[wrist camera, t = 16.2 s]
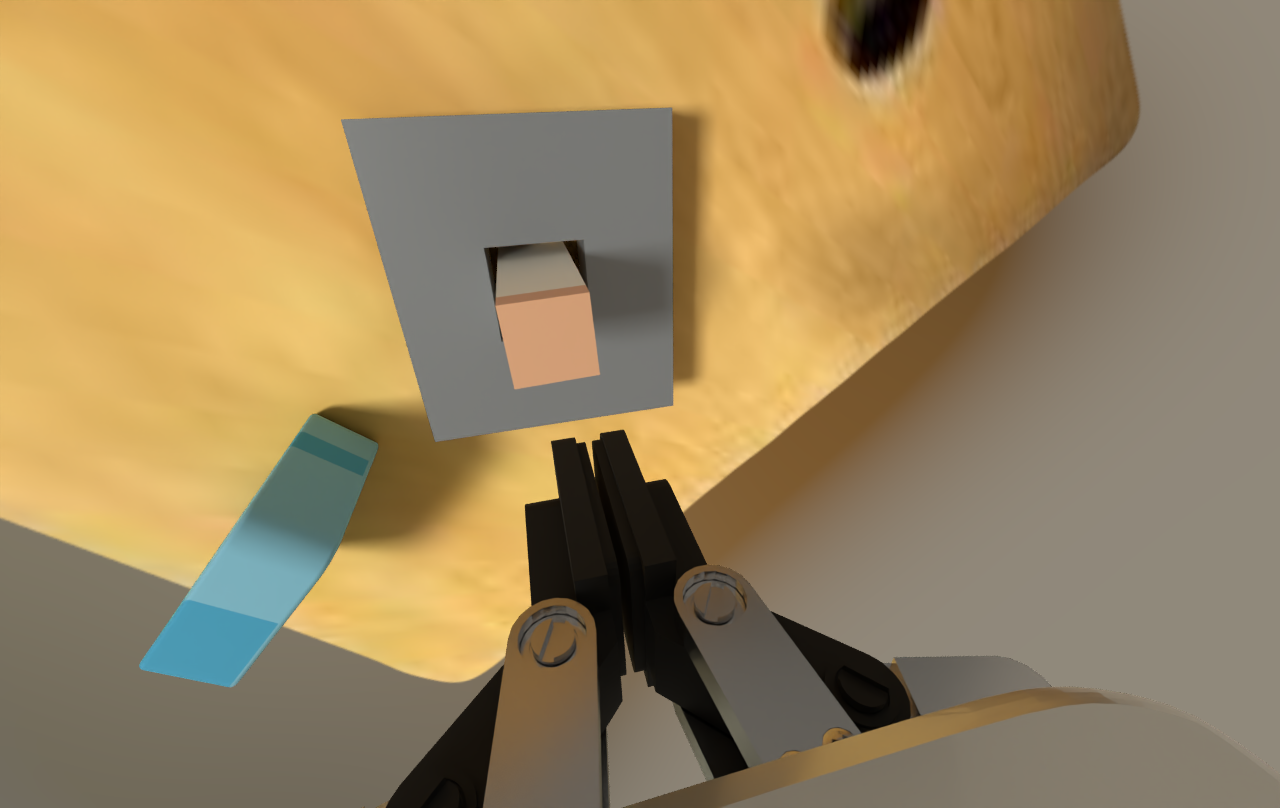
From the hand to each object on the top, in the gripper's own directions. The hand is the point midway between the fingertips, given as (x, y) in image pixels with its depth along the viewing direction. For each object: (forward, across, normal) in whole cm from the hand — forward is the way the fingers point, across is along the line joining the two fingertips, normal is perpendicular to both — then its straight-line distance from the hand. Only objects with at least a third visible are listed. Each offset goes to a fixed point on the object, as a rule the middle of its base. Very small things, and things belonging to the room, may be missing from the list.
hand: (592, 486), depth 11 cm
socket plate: (+24, 0, +2) cm, 24 cm away
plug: (+24, 0, +2) cm, 24 cm away
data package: (+24, +18, +15) cm, 33 cm away
